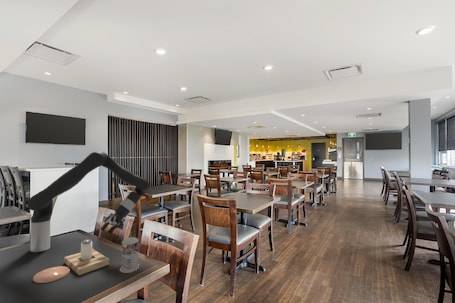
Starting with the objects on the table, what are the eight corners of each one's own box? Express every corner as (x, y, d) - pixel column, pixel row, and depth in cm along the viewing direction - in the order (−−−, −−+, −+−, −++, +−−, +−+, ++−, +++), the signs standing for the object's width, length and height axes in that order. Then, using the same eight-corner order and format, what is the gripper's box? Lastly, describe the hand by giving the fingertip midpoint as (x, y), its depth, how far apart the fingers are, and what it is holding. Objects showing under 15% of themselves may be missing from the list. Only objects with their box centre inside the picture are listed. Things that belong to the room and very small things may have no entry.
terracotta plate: (29, 276, 111) (29, 274, 111) (64, 265, 122) (64, 263, 122) (37, 286, 102) (37, 284, 102) (74, 274, 113) (74, 272, 113)
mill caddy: (64, 262, 125) (64, 257, 125) (92, 254, 136) (92, 248, 136) (79, 275, 112) (79, 268, 112) (108, 264, 123) (109, 258, 123)
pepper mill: (79, 264, 123) (79, 241, 123) (89, 260, 127) (90, 238, 128) (83, 267, 120) (83, 243, 120) (93, 263, 124) (94, 240, 124)
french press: (127, 274, 113) (128, 222, 113) (113, 268, 119) (113, 218, 119) (144, 266, 121) (144, 217, 121) (130, 260, 127) (130, 214, 128)
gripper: (114, 202, 143) (94, 225, 134) (127, 205, 134) (106, 231, 125) (123, 209, 147) (104, 232, 138) (135, 213, 138) (116, 238, 129)
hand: (105, 231), depth 131 cm, fingers open, 8 cm apart
